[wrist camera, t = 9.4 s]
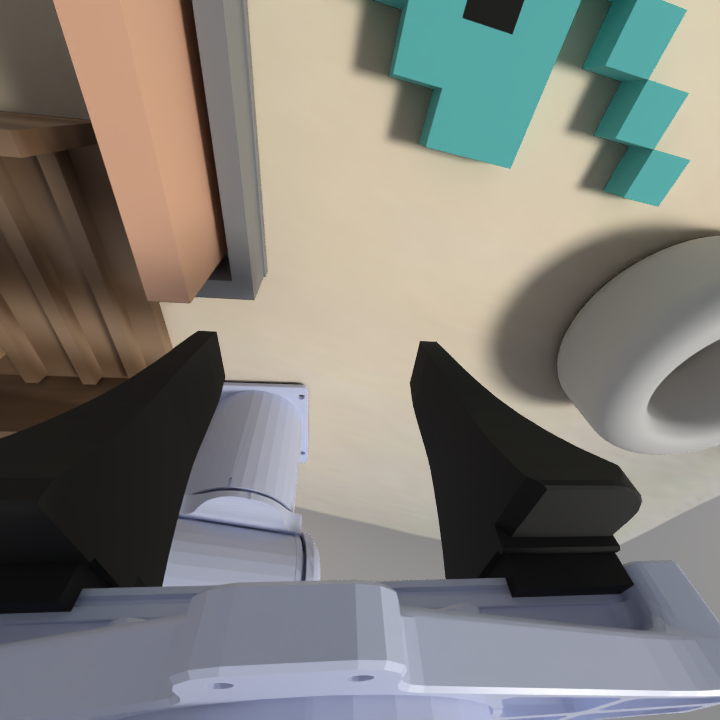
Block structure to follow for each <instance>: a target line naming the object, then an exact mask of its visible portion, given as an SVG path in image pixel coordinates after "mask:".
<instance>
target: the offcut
mask: <svg viewBox="0 0 720 720" xmlns="http://www.w3.org/2000/svg"><path fill="white" fill-rule="evenodd" d="M5 355H6V353H5V351H4V350H3V348H2V347H1V345H0V359H1V358H2V357H3V356H5Z"/></svg>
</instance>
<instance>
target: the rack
mask: <svg viewBox="0 0 720 720" xmlns="http://www.w3.org/2000/svg"><path fill="white" fill-rule="evenodd" d="M0 345H1V347H2V348H3V350H4V351H5V353H6V355H5V356H3V357H2V358H1V359H0V438H3V437H5V436H8V435H11V434H14V433H16V432H19V431H21V430H24V429H27V428H29V427H32V426H34V425H37V424H39V423H42V422H44V421H46V420H49V419H51V418H54V417H56V416H58V415H60V414H62V413H64V412H67V411H69V410H71V409H73V408H75V407H77V406H79V405H82V404H84V403H86V402H88V401H90V400H92V399H94V398H96V397H98V396H100V395H101V394H103V393H105V392H107V391H109V390H111V389H113V388H114V387H116V386H118V385H120V384H121V383H123V382H125V381H126V380H128V379H129V378H131V377H132V376H134V375H136V374H137V373H139V372H140V371H142V370H143V369H145V368H146V367H148V366H149V365H151V364H152V363H154V362H155V361H157V360H158V359H160V358H161V357H162V356H164V355H165V354H167V353H168V352H169V351H171V350H172V349H173V348H172V345H171V342H170V338H169V335H168V331H167V328H166V325H165V321H164V318H163V314H162V311H161V308H160V304H159V302H155V301H148V300H147V297H146V294H145V291H144V288H143V284H142V281H141V278H140V275H139V272H138V269H137V265H136V262H135V259H134V256H133V253H132V250H131V246H130V243H129V240H128V237H127V234H126V230H125V227H124V224H123V221H122V218H121V215H120V211H119V208H118V205H117V202H116V199H115V196H114V192H113V189H112V186H111V183H110V180H109V177H108V173H107V170H106V167H105V164H104V161H103V158H102V154H101V151H100V148H99V145H98V142H97V139H96V135H95V132H94V129H93V126H92V123H91V120H84V119H74V118H64V117H54V116H45V115H35V114H25V113H15V112H5V111H0Z"/></svg>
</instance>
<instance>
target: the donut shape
mask: <svg viewBox="0 0 720 720" xmlns="http://www.w3.org/2000/svg"><path fill="white" fill-rule="evenodd" d="M557 372H558V378H559V381H560V384H561V387H562V389H563V390H564V392H565V394H566V395H567V396H568V397H569V399H570V400H571V401H572V403H573V404H574V405H575V406H576V408H577V409H578V410H579V411H580V413H581V414H582V415H583V416H584V418H585V419H586V420H587V421H588V423H589V424H590V425H591V427H592V428H593V429H594V430H595V431H596V432H597V433H598V434H599V435H600V436H601V437H602V438H603V439H605V440H606V441H608V442H609V443H611V444H613V445H615V446H617V447H619V448H622V449H624V450H628V451H631V452H636V453H641V454H649V455H671V454H681V453H688V452H694V451H698V450H703V449H707V448H711V447H714V446H718V445H720V235H719V236H710V237H704V238H698V239H694V240H690V241H686V242H683V243H680V244H677V245H674V246H671V247H668V248H666V249H663V250H661V251H659V252H656V253H654V254H652V255H650V256H648V257H646V258H644V259H642V260H641V261H639V262H637V263H635V264H634V265H632V266H630V267H629V268H627V269H626V270H624V271H623V272H621V273H620V274H619V275H617V276H616V277H614V278H613V279H612V280H611V281H609V282H608V283H607V284H606V285H604V286H603V287H602V288H601V289H600V290H599V291H598V292H597V293H596V294H595V295H594V296H593V297H592V298H591V299H590V300H589V301H588V302H587V303H586V304H585V305H584V306H583V308H582V309H581V310H580V311H579V313H578V314H577V315H576V317H575V318H574V320H573V321H572V323H571V324H570V326H569V328H568V330H567V332H566V334H565V336H564V338H563V340H562V343H561V346H560V349H559V354H558V360H557Z"/></svg>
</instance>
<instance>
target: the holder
mask: <svg viewBox="0 0 720 720" xmlns="http://www.w3.org/2000/svg"><path fill="white" fill-rule="evenodd" d="M192 4H193V11H194V18H195V25H196V32H197V39H198V46H199V53H200V60H201V67H202V74H203V81H204V88H205V95H206V102H207V109H208V116H209V123H210V130H211V137H212V144H213V151H214V158H215V165H216V172H217V178H218V185H219V192H220V199H221V206H222V213H223V220H224V227H225V234H226V241H227V248H228V251H227V253H226V254H225V255H224V257H223V258H222V260H221V261H220V262H219V264H218V265H217V267H216V268H215V269H214V271H213V272H212V274H211V275H210V276H209V278H208V279H207V281H206V282H205V283H204V285H203V286H202V288H201V289H200V290H199V292H198V293H197V295H196V296H195V297H205V298H224V299H242V300H255V297H256V295H257V292H258V290H259V287H260V285H261V282H262V280H263V277H266V274H267V259H266V246H265V232H264V219H263V206H262V192H261V179H260V166H259V153H258V139H257V126H256V113H255V100H254V86H253V73H252V60H251V46H250V33H249V20H248V7H247V0H192Z"/></svg>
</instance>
